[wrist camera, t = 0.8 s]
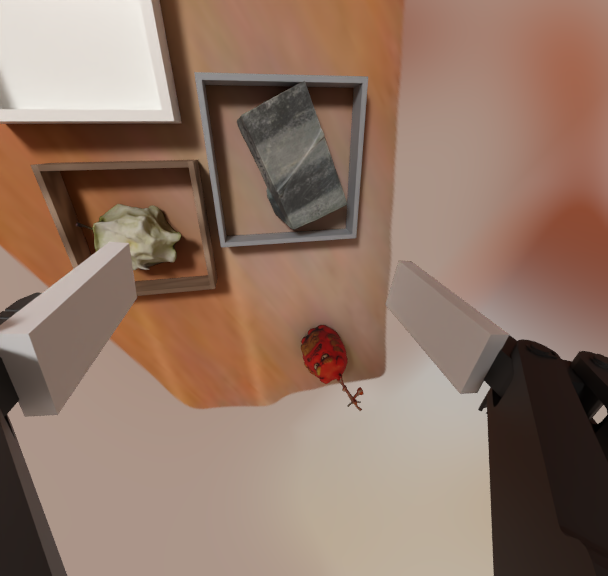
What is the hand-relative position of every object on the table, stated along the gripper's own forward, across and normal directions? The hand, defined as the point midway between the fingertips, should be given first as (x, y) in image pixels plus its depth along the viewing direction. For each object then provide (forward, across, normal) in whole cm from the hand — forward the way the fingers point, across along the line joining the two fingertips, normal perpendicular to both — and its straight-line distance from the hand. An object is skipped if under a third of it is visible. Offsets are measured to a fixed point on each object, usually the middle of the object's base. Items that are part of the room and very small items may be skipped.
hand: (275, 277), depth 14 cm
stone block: (+28, +4, +4) cm, 28 cm away
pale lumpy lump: (+28, -14, -7) cm, 32 cm away
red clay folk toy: (+27, +13, -25) cm, 39 cm away
